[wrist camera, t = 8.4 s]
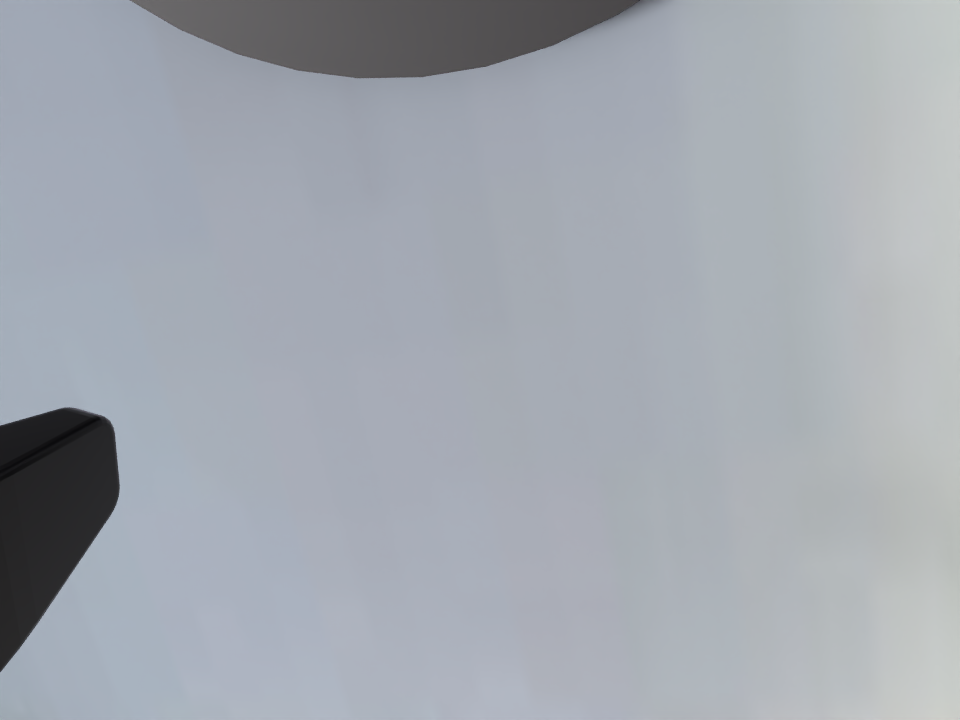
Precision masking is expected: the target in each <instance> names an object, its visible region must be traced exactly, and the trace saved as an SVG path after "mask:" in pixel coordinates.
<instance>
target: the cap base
mask: <svg viewBox="0 0 960 720" xmlns="http://www.w3.org/2000/svg"><path fill="white" fill-rule="evenodd" d="M130 1H132V2H134V3H135V4H137V5H139V6H141V7H142V8H144V9H146V10H147V11H149V12H151V13H153V14H154V15H156V16H158V17H159V18H161V19H163V20H165V21H166V22H168V23H170V24H171V25H173V26H175V27H177V28H178V29H180V30H182V31H185V32H187V33H189V34H192V35H194V36H196V37H199V38H201V39H204V40H206V41H208V42H211V43H213V44H215V45H218V46H220V47H222V48H225V49H227V50H229V51H232V52H234V53H237V54H239V55H243V56H247V57H250V58H254V59H258V60H261V61H265V62H269V63H272V64H276V65H280V66H283V67H287V68H291V69H294V70H299V71H307V72H314V73H322V74H330V75H338V76H346V77H354V78H394V77H425V76H431V75H437V74H443V73H449V72H455V71H461V70H467V69H474V68H480V67H486V66H489V65H492V64H495V63H499V62H502V61H505V60H508V59H511V58H514V57H518V56H521V55H524V54H527V53H530V52H533V51H537V50H540V49H543V48H546V47H549V46H552V45H554V44H557V43H559V42H561V41H563V40H565V39H567V38H569V37H571V36H573V35H575V34H578V33H580V32H582V31H584V30H586V29H588V28H590V27H592V26H594V25H597V24H599V23H601V22H603V21H605V20H607V19H609V18H611V17H613V16H616V15H618V14H619V13H621V12H623V11H624V10H626V9H627V8H629V7H630V6H632V5H633V4H635V3H636V2H638V1H640V0H130Z"/></svg>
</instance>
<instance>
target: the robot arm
mask: <svg viewBox="0 0 960 720" xmlns="http://www.w3.org/2000/svg"><path fill="white" fill-rule="evenodd" d="M119 489H120V484H119V473H118V463H117V452H116V442H115V432H114V428H113V426H112V424H111V422H110V421H109V420H108V419H107V418H105V417H104V416H101V415H97V414H94V413H90V412H87V411H84V410H80V409H77V408H70V407H69V408H61V409H57V410H54V411H50V412H47V413H43V414H40V415H36V416H33V417H29V418H26V419H22V420H19V421H15V422H11V423H8V424H4V425H1V426H0V672H1V671H2V670H3V668H4V667H5V666H6V665H7V663H8V662H9V661H10V659H11V658H12V657H13V656H14V654H15V653H16V652H17V651H18V649H19V648H20V647H21V646H22V644H23V643H24V642H25V640H26V639H27V637H28V636H29V635H30V633H31V632H32V630H33V629H34V628H35V626H36V625H37V624H38V622H39V621H40V619H41V618H42V616H43V615H44V613H45V612H46V610H47V609H48V607H49V606H50V604H51V603H52V601H53V600H54V598H55V597H56V595H57V594H58V592H59V591H60V590H61V588H62V587H63V585H64V584H65V582H66V581H67V579H68V578H69V576H70V575H71V573H72V572H73V570H74V569H75V567H76V566H77V564H78V563H79V561H80V560H81V558H82V557H83V555H84V554H85V552H86V551H87V550H88V548H89V547H90V545H91V544H92V542H93V541H94V539H95V538H96V536H97V535H98V533H99V532H100V530H101V529H102V527H103V526H104V524H105V523H106V521H107V520H108V518H109V517H110V515H111V514H112V512H113V510H114V508H115V506H116V503H117V500H118V497H119Z"/></svg>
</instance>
